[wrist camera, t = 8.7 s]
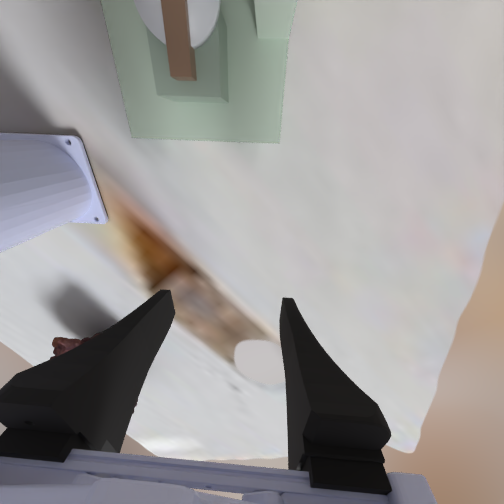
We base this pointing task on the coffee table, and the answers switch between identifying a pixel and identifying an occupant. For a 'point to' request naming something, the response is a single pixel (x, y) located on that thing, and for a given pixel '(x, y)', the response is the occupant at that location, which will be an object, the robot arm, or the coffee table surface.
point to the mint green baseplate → (206, 74)
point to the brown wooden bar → (180, 29)
